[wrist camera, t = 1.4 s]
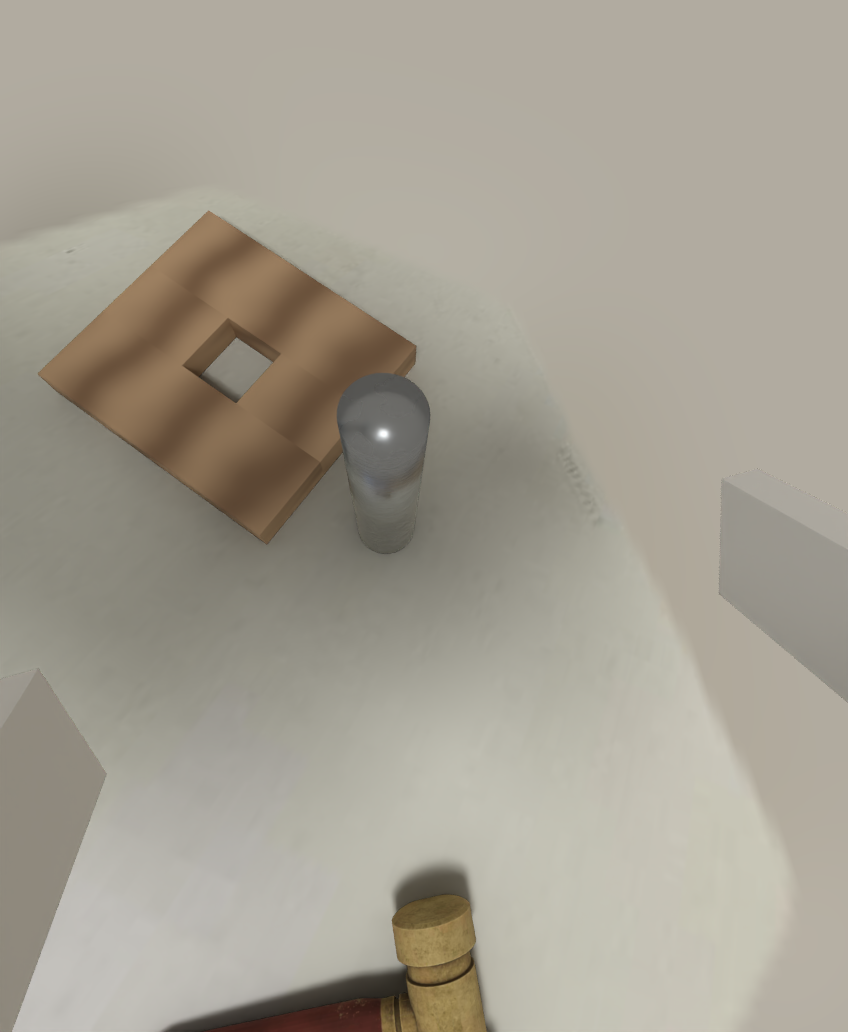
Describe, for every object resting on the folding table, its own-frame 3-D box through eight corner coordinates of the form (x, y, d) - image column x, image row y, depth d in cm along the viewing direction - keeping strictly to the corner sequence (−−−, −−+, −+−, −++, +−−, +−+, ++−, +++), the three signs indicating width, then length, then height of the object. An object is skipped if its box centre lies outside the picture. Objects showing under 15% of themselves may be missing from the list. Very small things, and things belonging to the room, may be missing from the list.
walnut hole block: (56, 391, 44) (37, 373, 42) (217, 234, 49) (208, 210, 46) (266, 544, 42) (259, 535, 39) (415, 363, 46) (416, 346, 44)
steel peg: (346, 532, 42) (317, 423, 25) (380, 489, 43) (373, 356, 26) (392, 564, 42) (393, 475, 25) (424, 520, 43) (448, 405, 26)
